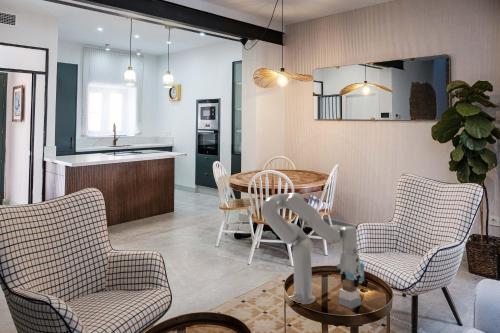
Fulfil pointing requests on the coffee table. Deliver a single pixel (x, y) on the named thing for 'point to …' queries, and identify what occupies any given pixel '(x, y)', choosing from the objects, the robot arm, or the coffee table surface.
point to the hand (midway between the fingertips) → (349, 284)
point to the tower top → (349, 294)
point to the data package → (358, 273)
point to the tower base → (350, 302)
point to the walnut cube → (349, 285)
